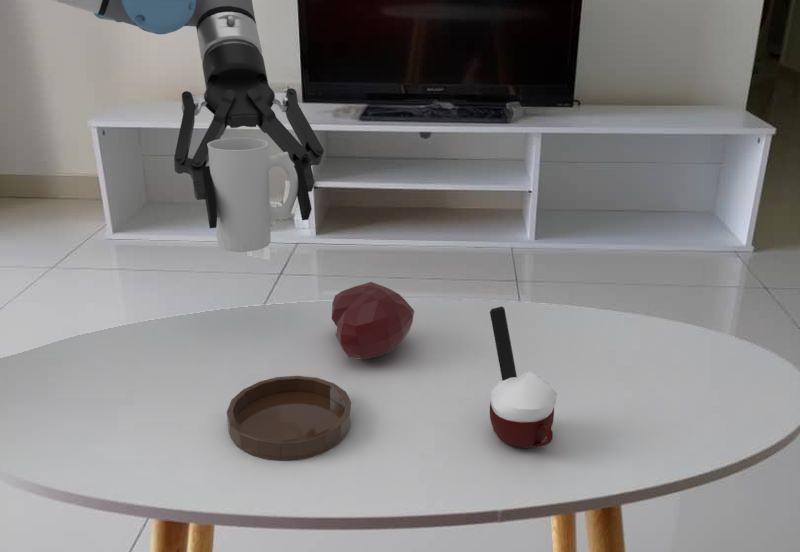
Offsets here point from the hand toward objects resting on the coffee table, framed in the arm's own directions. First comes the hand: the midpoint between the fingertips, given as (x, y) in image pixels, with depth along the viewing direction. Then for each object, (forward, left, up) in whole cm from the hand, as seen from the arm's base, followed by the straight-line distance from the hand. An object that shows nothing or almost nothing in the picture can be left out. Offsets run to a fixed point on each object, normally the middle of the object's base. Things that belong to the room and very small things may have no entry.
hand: (261, 218), depth 85 cm
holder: (-1, -18, -16) cm, 24 cm away
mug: (0, +3, -4) cm, 5 cm away
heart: (+12, -5, -16) cm, 21 cm away
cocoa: (+20, -27, -16) cm, 37 cm away
